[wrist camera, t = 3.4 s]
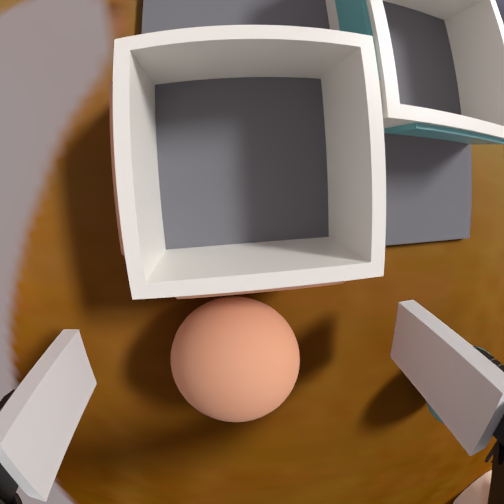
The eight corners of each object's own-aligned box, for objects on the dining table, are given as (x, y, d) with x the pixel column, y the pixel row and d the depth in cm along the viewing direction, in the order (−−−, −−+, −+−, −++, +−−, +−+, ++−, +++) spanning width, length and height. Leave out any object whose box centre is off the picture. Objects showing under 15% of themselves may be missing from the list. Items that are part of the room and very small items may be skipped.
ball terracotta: (185, 377, 15) (178, 451, 10) (169, 283, 13) (147, 341, 9) (285, 367, 15) (311, 437, 10) (284, 273, 14) (318, 325, 9)
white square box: (153, 264, 13) (127, 306, 9) (140, 79, 11) (108, 40, 7) (336, 249, 14) (382, 281, 10) (327, 71, 12) (372, 36, 8)
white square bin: (333, 136, 13) (383, 123, 8) (315, -15, 11) (347, -65, 6) (465, 147, 13) (525, 148, 9) (444, 17, 11) (492, -7, 7)
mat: (155, 262, 13) (153, 265, 13) (146, -13, 10) (144, -17, 9) (464, 236, 15) (469, 238, 14) (445, 16, 11) (449, 14, 11)
